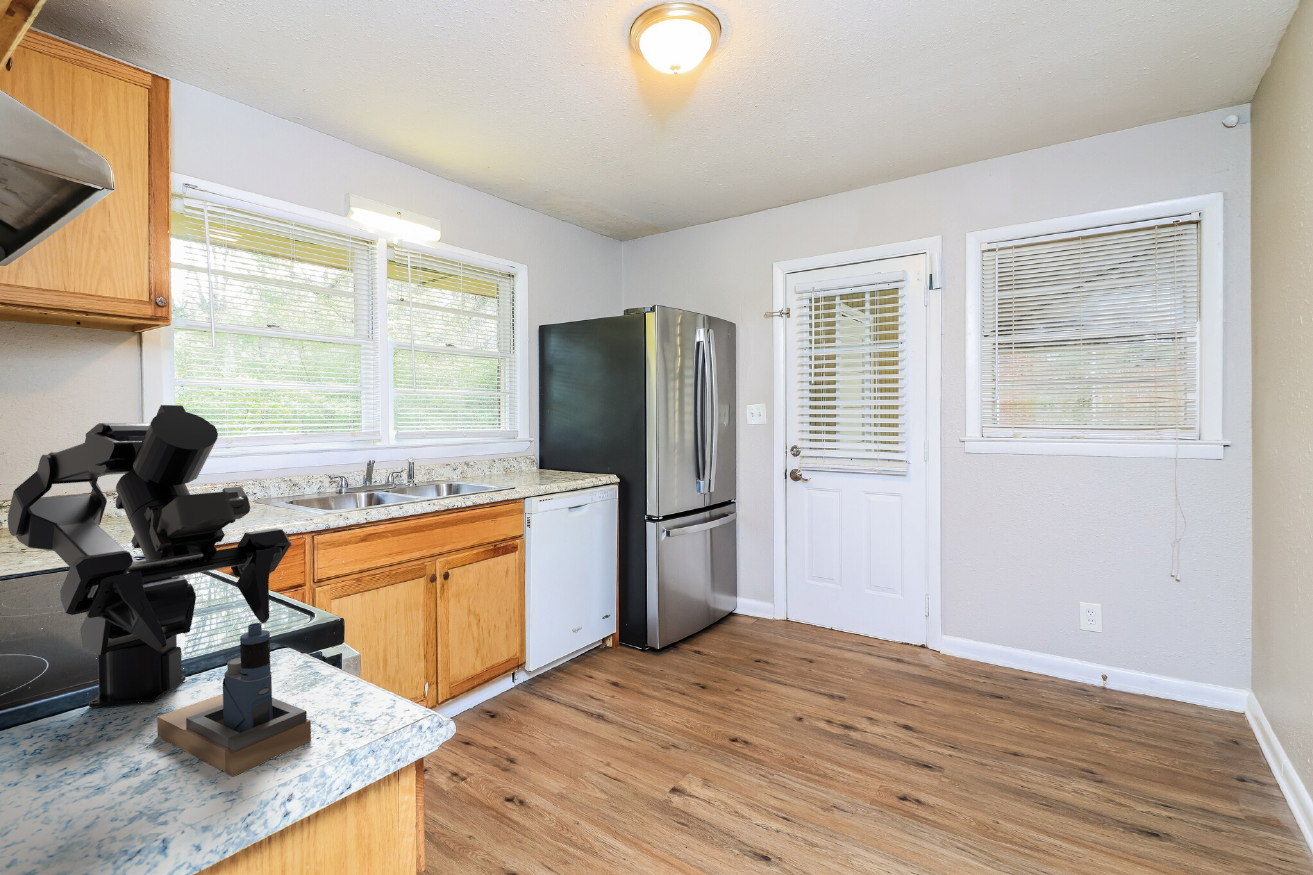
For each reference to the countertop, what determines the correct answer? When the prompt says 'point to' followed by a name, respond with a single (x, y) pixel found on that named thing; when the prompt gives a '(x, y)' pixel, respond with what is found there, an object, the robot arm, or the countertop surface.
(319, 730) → the countertop surface
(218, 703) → the walnut socket board
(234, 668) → the vaping device
